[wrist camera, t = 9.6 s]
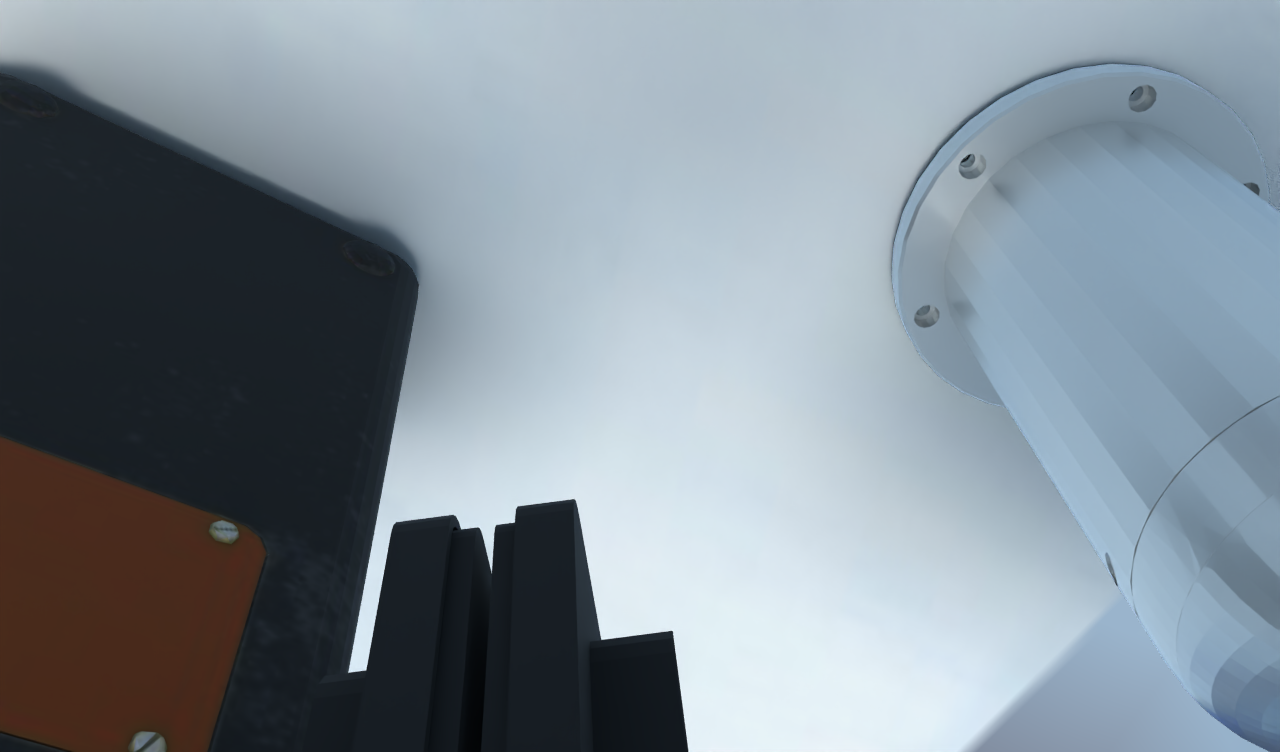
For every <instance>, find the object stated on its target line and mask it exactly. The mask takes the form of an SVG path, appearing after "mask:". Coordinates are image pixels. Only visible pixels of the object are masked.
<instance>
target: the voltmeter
mask: <svg viewBox="0 0 1280 752" xmlns="http://www.w3.org/2000/svg"><path fill="white" fill-rule="evenodd" d="M418 286H419V284H418V281H417V278H416V275H415V274H414V272H413V270H412V269H411V268H410V267H409V265H408V264H407V263H406V262H405V261H403V260H402V259H401V258H400V257H398V256H397V255H395V254H393V253H391V252H389V251H386V250H384V249H382V248H381V247H379V246H377V245H376V244H373V243H370V242H367V241H365V240H363V239H361V238H358V237H356V236H354V235H352V234H350V233H348V232H346V231H343V230H341V229H339V228H337V227H335V226H333V225H331V224H328V223H326V222H324V221H322V220H320V219H318V218H316V217H313V216H311V215H309V214H307V213H305V212H303V211H301V210H298V209H296V208H294V207H292V206H290V205H288V204H285V203H283V202H281V201H279V200H277V199H275V198H273V197H270V196H268V195H266V194H264V193H262V192H260V191H258V190H255V189H253V188H251V187H249V186H247V185H245V184H243V183H240V182H238V181H236V180H234V179H232V178H230V177H228V176H225V175H223V174H221V173H219V172H217V171H215V170H212V169H210V168H208V167H206V166H204V165H202V164H200V163H197V162H195V161H193V160H191V159H189V158H187V157H185V156H182V155H180V154H178V153H176V152H174V151H172V150H170V149H167V148H165V147H163V146H161V145H159V144H157V143H155V142H152V141H150V140H148V139H146V138H144V137H142V136H139V135H137V134H135V133H133V132H131V131H129V130H127V129H124V128H122V127H120V126H118V125H116V124H114V123H112V122H109V121H107V120H105V119H103V118H101V117H99V116H97V115H94V114H92V113H90V112H88V111H86V110H84V109H82V108H79V107H77V106H75V105H73V104H71V103H69V102H66V101H64V100H62V99H60V98H58V97H56V96H54V95H51V94H49V93H47V92H45V91H44V90H42V89H41V88H39V87H37V86H35V85H32V84H29V83H26V82H24V81H21V80H19V79H17V78H15V77H13V76H10V75H6V74H2V73H0V752H302V748H303V744H304V740H305V735H306V731H307V726H308V722H309V717H310V713H311V709H312V704H313V700H314V696H315V693H316V690H317V687H318V684H319V683H320V681H321V680H322V679H323V677H324V676H328V675H336V674H344V673H348V671H349V665H350V660H351V654H352V649H353V644H354V638H355V633H356V627H357V622H358V617H359V611H360V606H361V601H362V595H363V590H364V584H365V579H366V574H367V568H368V563H369V557H370V552H371V547H372V541H373V536H374V530H375V525H376V520H377V514H378V509H379V503H380V498H381V493H382V487H383V482H384V476H385V471H386V466H387V460H388V455H389V450H390V444H391V439H392V433H393V428H394V423H395V417H396V412H397V406H398V401H399V396H400V390H401V385H402V379H403V374H404V369H405V363H406V358H407V352H408V347H409V342H410V336H411V331H412V326H413V320H414V315H415V309H416V304H417V299H418Z"/></svg>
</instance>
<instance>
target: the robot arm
mask: <svg viewBox="0 0 1280 752" xmlns="http://www.w3.org/2000/svg"><path fill="white" fill-rule="evenodd" d="M1136 88H1137V89H1136ZM1135 89H1136V91H1135V93H1134V94H1132V95H1131V93H1132V92H1133V90H1135ZM1130 95H1131V96H1130ZM969 154H971V156H970V158H969V159H968V160H967V161H965V162H961V161H962V159H963V158H964V157H966V156H967V155H969ZM1269 194H1270V192H1269V186H1268V180H1267V174H1266V168H1265V163H1264V160H1263V158H1262V155H1261V153H1260V151H1259V148H1258V146H1257V144H1256V142H1255V139H1254V137H1253V135H1252V133H1251V132H1250V131H1249V129H1248V128H1247V127H1246V126H1245V124H1244V123H1243V122H1242V121H1241V119H1240V118H1239V117H1238V116H1237V114H1236V113H1235V112H1234V111H1233V109H1231V108H1230V107H1229V106H1227V105H1226V104H1225V103H1223V102H1222V101H1220V100H1219V99H1218V98H1216V97H1215V96H1214V95H1212V94H1211V93H1210V92H1208V91H1207V90H1205V89H1203V88H1202V87H1200V86H1198V85H1196V84H1194V83H1193V82H1191V81H1189V80H1187V79H1186V78H1184V77H1182V76H1180V75H1177V74H1173V73H1170V72H1166V71H1163V70H1159V69H1156V68H1153V67H1149V66H1139V65H1124V64H1105V65H1097V66H1089V67H1081V68H1074V69H1070V70H1067V71H1064V72H1061V73H1057V74H1054V75H1051V76H1048V77H1045V78H1041V79H1038V80H1035V81H1034V82H1032V83H1030V84H1028V85H1026V86H1024V87H1022V88H1020V89H1018V90H1016V91H1014V92H1012V93H1010V94H1008V95H1006V96H1004V97H1002V98H1000V99H999V100H997V101H996V102H994V103H993V104H992V105H990V106H989V107H988V108H986V109H985V110H983V111H982V112H981V113H979V114H978V115H977V116H975V117H974V118H972V119H971V120H970V121H968V122H967V123H966V124H965V125H964V126H963V127H962V128H961V129H960V130H959V131H958V132H957V133H956V134H955V135H954V136H953V137H952V138H951V139H950V140H949V141H948V142H947V143H946V144H945V145H944V146H943V147H942V148H941V149H940V150H939V152H938V153H937V155H936V156H935V157H934V159H933V160H932V162H931V163H930V164H929V166H928V167H927V169H926V170H925V171H924V173H923V174H922V176H921V177H920V178H919V180H918V182H917V184H916V186H915V188H914V190H913V192H912V194H911V196H910V198H909V200H908V202H907V204H906V206H905V208H904V210H903V213H902V216H901V220H900V224H899V227H898V231H897V234H896V238H895V242H894V247H893V261H892V275H891V276H892V283H893V290H894V297H895V304H896V307H897V310H898V312H899V315H900V318H901V320H902V323H903V325H904V328H905V330H906V333H907V334H908V336H909V338H910V339H911V341H912V343H913V344H914V346H915V348H916V349H917V351H918V353H919V355H920V356H921V357H922V358H923V360H924V361H925V362H926V363H927V364H928V365H929V366H930V367H931V368H932V370H933V371H934V372H935V373H936V374H937V375H938V376H939V377H940V378H942V379H943V380H945V381H946V382H947V383H949V384H950V385H952V386H953V387H955V388H956V389H957V390H959V391H960V392H962V393H964V394H967V395H969V396H971V397H974V398H976V399H978V400H981V401H983V402H985V403H988V404H993V405H997V406H1002V407H1006V408H1007V409H1008V411H1009V413H1010V414H1011V416H1012V417H1013V419H1014V421H1015V422H1016V424H1017V426H1018V427H1019V429H1020V430H1021V432H1022V434H1023V435H1024V437H1025V438H1026V440H1027V442H1028V443H1029V445H1030V446H1031V448H1032V450H1033V451H1034V453H1035V455H1036V456H1037V458H1038V459H1039V461H1040V463H1041V464H1042V466H1043V467H1044V469H1045V471H1046V472H1047V474H1048V475H1049V477H1050V479H1051V480H1052V482H1053V483H1054V485H1055V487H1056V488H1057V490H1058V492H1059V493H1060V495H1061V496H1062V498H1063V500H1064V501H1065V503H1066V504H1067V506H1068V508H1069V509H1070V511H1071V512H1072V514H1073V516H1074V517H1075V519H1076V520H1077V522H1078V524H1079V525H1080V527H1081V529H1082V530H1083V532H1084V533H1085V535H1086V537H1087V538H1088V540H1089V541H1090V543H1091V545H1092V546H1093V548H1094V549H1095V551H1096V553H1097V554H1098V556H1099V557H1100V559H1101V561H1102V562H1103V564H1104V566H1105V567H1106V569H1107V570H1108V572H1109V574H1110V575H1111V577H1112V578H1113V580H1114V582H1115V583H1116V585H1117V586H1118V588H1119V590H1120V591H1121V593H1122V594H1123V596H1124V598H1125V599H1126V601H1127V602H1128V604H1129V606H1130V607H1131V609H1132V610H1133V612H1134V614H1135V615H1136V617H1137V618H1138V620H1139V621H1140V623H1141V625H1142V626H1143V628H1144V629H1145V631H1146V633H1147V634H1148V636H1149V638H1150V639H1151V641H1152V642H1153V644H1154V645H1155V647H1156V649H1157V650H1158V652H1159V653H1160V655H1161V656H1162V658H1163V660H1164V661H1165V663H1166V664H1167V666H1168V667H1169V668H1170V670H1171V671H1172V673H1173V674H1174V675H1175V676H1176V678H1177V679H1178V680H1179V682H1180V683H1181V684H1182V686H1183V687H1184V688H1185V690H1186V691H1187V692H1188V693H1189V694H1190V695H1191V696H1192V697H1193V698H1194V699H1195V700H1196V701H1197V702H1198V703H1199V704H1200V706H1201V707H1202V708H1203V709H1205V710H1206V711H1207V712H1208V713H1209V714H1210V715H1211V716H1213V717H1214V718H1215V719H1217V720H1218V721H1219V722H1221V723H1222V724H1223V725H1225V726H1226V727H1227V728H1229V729H1230V730H1231V731H1233V732H1234V733H1236V734H1237V735H1239V736H1240V737H1241V738H1243V739H1245V740H1247V741H1249V742H1251V743H1253V744H1255V745H1257V746H1259V747H1261V748H1263V749H1265V750H1267V751H1269V752H1280V212H1279V211H1278V210H1277V209H1275V208H1274V207H1273V206H1271V205H1270V204H1269ZM923 306H924V307H923ZM922 307H923V308H922ZM920 308H921V309H920ZM302 752H688V745H687V737H686V729H685V722H684V714H683V706H682V699H681V691H680V683H679V676H678V668H677V660H676V653H675V645H674V638H673V631H668V632H660V633H652V634H645V635H637V636H629V637H621V638H614V639H606V640H601V636H600V631H599V625H598V619H597V614H596V608H595V603H594V597H593V591H592V586H591V580H590V574H589V569H588V563H587V558H586V552H585V546H584V541H583V535H582V529H581V524H580V518H579V513H578V508H577V504H576V501H575V499H572V500H565V501H557V502H549V503H542V504H534V505H526V506H518V507H517V509H516V515H515V523H509V524H501V525H496V527H495V533H494V549H493V566H492V573H491V569H490V565H489V561H488V556H487V552H486V548H485V544H484V540H483V536H482V533H481V530H480V528H470V529H462V530H461V528H460V524H459V522H458V520H457V518H456V516H454V515H449V516H441V517H434V518H426V519H418V520H411V521H403V522H396V523H395V524H394V525H393V529H392V532H391V537H390V543H389V548H388V554H387V559H386V565H385V570H384V576H383V581H382V587H381V593H380V598H379V604H378V609H377V615H376V620H375V626H374V631H373V637H372V643H371V648H370V654H369V659H368V665H367V670H366V671H359V672H351V673H344V674H336V675H328V676H324V677H323V679H322V680H321V681H320V683H319V684H318V687H317V690H316V693H315V696H314V700H313V704H312V709H311V713H310V717H309V722H308V726H307V731H306V735H305V740H304V744H303V748H302Z"/></svg>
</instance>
